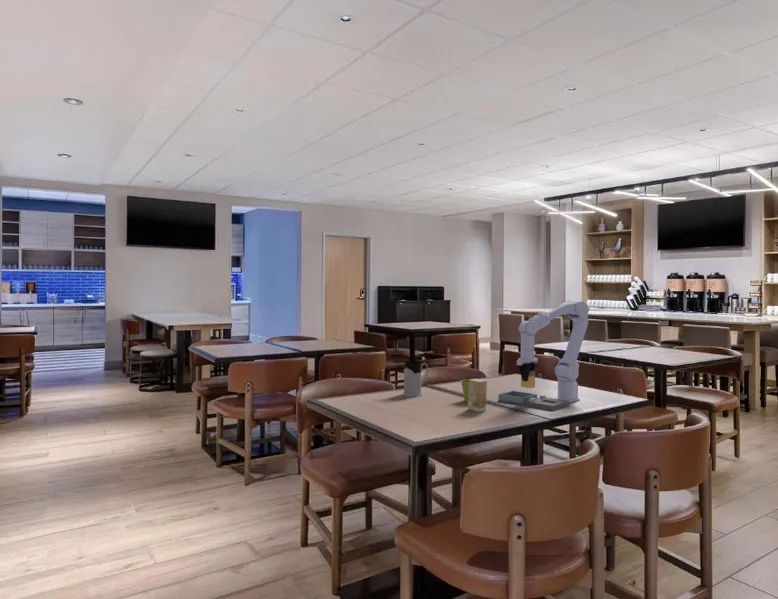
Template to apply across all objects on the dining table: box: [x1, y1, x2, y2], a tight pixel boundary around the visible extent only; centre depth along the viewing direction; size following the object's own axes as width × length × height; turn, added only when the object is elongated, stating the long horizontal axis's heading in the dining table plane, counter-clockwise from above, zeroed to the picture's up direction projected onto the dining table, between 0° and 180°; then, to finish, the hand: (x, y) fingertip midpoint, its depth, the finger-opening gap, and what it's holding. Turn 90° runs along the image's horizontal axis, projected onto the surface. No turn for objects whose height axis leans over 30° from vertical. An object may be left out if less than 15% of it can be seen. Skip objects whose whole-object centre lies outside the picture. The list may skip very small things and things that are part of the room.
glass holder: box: [402, 360, 429, 398], centre depth 252 cm, size 9×14×15 cm, turn 132°
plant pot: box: [460, 379, 470, 403], centre depth 237 cm, size 9×9×9 cm
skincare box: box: [467, 378, 488, 413], centre depth 219 cm, size 6×4×12 cm
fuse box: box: [525, 394, 570, 412], centre depth 228 cm, size 14×12×3 cm
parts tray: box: [497, 390, 538, 406], centre depth 238 cm, size 12×12×3 cm
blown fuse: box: [520, 370, 536, 389], centre depth 235 cm, size 3×5×7 cm, turn 47°
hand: (527, 380), depth 235 cm, fingers closed on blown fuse, 3 cm apart
